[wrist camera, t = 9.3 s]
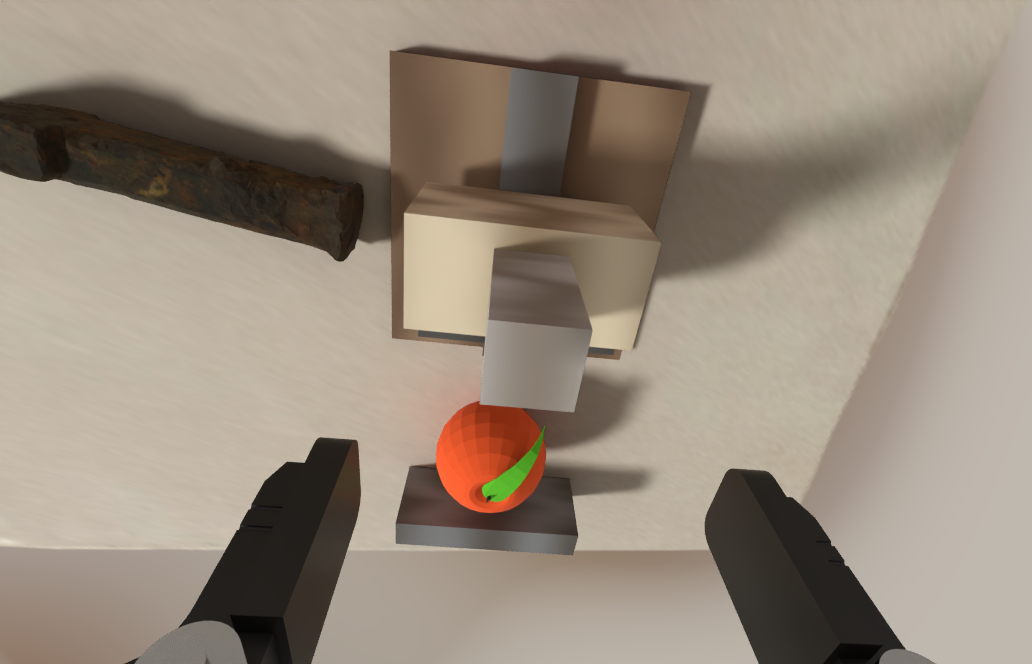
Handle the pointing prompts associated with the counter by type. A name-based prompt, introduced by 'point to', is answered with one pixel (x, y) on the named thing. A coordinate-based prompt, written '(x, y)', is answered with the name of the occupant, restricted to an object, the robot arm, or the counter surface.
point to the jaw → (526, 284)
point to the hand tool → (179, 176)
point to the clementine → (490, 457)
